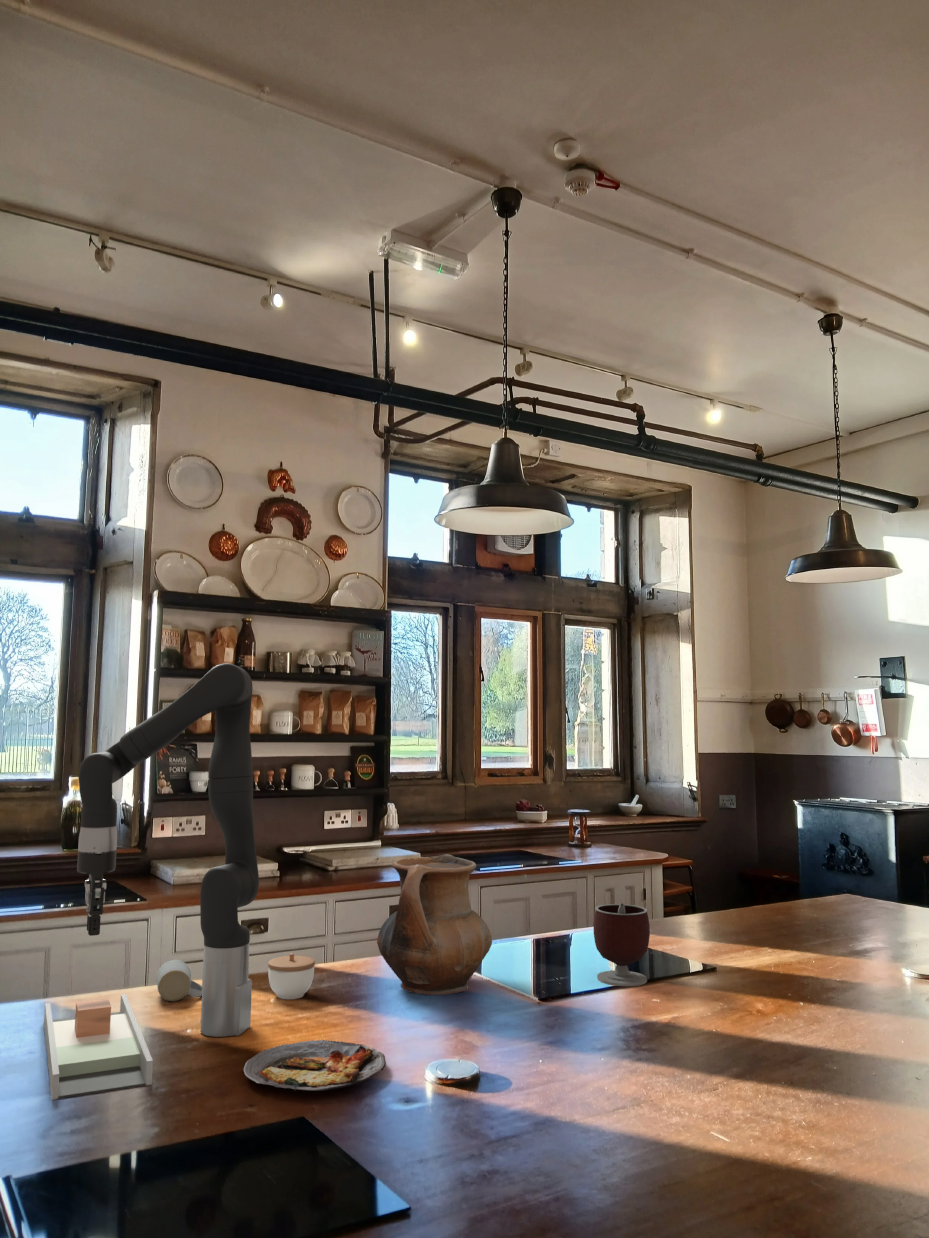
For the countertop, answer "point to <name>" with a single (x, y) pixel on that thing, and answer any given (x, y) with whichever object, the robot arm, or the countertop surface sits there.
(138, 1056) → the pad
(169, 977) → the ceramic mug
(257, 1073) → the food plate
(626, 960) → the mate gourd
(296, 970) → the lidded jar
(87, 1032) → the block
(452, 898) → the jug
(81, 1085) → the trap channel
